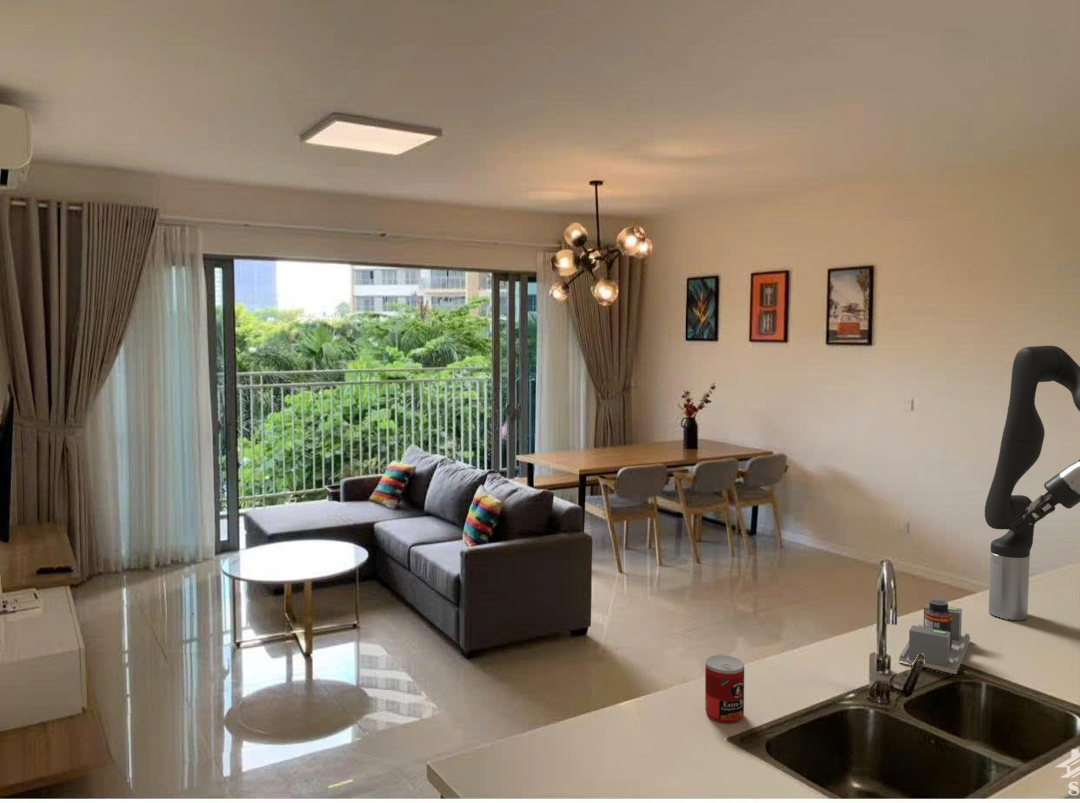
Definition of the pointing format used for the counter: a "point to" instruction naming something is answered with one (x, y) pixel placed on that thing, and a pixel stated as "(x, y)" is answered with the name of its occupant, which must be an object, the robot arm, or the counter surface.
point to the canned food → (724, 688)
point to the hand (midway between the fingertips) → (1014, 526)
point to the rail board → (937, 644)
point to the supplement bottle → (939, 617)
